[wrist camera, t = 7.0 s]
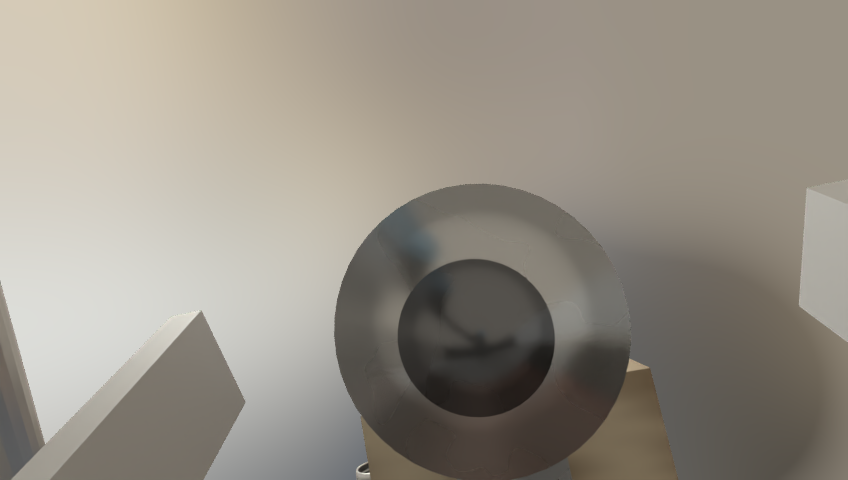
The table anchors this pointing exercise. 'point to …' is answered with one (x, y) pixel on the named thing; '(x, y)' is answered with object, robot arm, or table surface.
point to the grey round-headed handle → (483, 333)
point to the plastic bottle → (363, 472)
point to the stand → (596, 459)
